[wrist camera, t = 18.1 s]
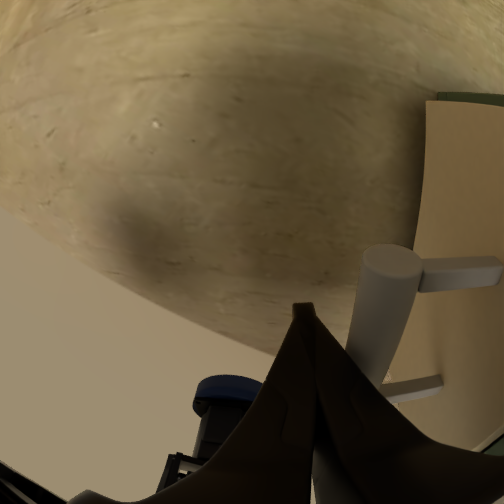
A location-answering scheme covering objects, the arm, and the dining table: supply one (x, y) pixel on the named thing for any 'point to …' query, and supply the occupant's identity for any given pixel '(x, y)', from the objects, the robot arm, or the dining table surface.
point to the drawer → (443, 288)
